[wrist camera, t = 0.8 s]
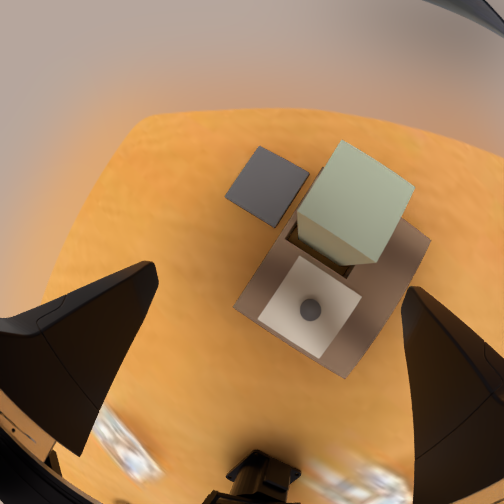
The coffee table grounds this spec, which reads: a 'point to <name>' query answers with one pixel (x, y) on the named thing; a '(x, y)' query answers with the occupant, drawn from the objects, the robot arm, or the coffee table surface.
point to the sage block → (352, 208)
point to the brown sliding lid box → (330, 296)
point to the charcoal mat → (267, 186)
